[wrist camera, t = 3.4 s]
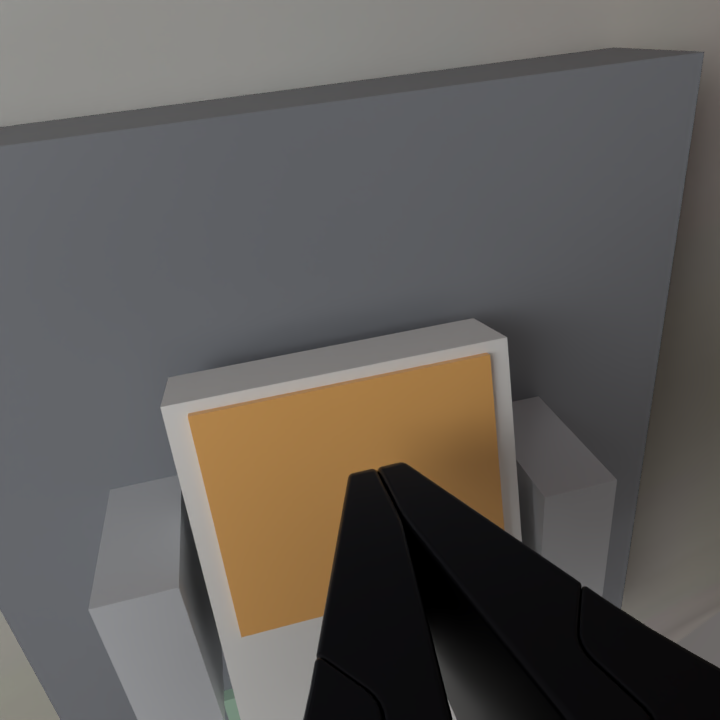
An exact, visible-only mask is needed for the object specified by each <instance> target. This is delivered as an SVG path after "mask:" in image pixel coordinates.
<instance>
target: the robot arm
mask: <svg viewBox="0 0 720 720" xmlns="http://www.w3.org/2000/svg"><path fill="white" fill-rule="evenodd" d="M581 588H582V589H581ZM316 657H317V659H316V660H315V663H314V669H313V674H312V680H311V685H310V690H309V695H308V699H307V704H306V709H305V713H304V718H303V720H453V718H452V714H451V710H450V706H449V703H450V705H451V708H452V710H453V712H454V714H455V717H456V719H457V720H720V668H718V667H717V666H715V665H713V664H711V663H709V662H708V661H706V660H704V659H702V658H700V657H699V656H697V655H695V654H693V653H691V652H690V651H688V650H686V649H685V648H683V647H681V646H680V645H678V644H676V643H675V642H673V641H671V640H669V639H668V638H666V637H664V636H663V635H661V634H659V633H657V632H656V631H654V630H652V629H651V628H649V627H647V626H646V625H644V624H643V623H641V622H640V621H638V620H636V619H635V618H633V617H632V616H630V615H629V614H627V613H626V612H624V611H623V610H621V609H619V608H618V607H616V606H615V605H613V604H612V603H610V602H609V601H607V600H606V599H604V598H603V597H601V596H600V595H598V594H597V593H596V592H594V591H593V590H591V589H590V588H588V587H587V586H583V587H582V585H581V583H580V582H579V581H578V580H576V579H575V578H573V577H572V576H570V575H569V574H567V573H566V572H564V571H563V570H562V569H560V568H559V567H557V566H556V565H554V564H553V563H551V562H550V561H548V560H547V559H545V558H544V557H543V556H541V555H540V554H538V553H537V552H535V551H534V550H532V549H531V548H529V547H528V546H526V545H525V544H524V543H522V542H521V541H519V540H518V539H516V538H515V537H513V536H512V535H510V534H509V533H507V532H506V531H505V530H503V529H502V528H500V527H499V526H497V525H496V524H494V523H493V522H491V521H490V520H488V519H487V518H486V517H484V516H483V515H481V514H480V513H478V512H477V511H475V510H474V509H472V508H471V507H469V506H468V505H467V504H465V503H464V502H462V501H461V500H459V499H458V498H456V497H455V496H453V495H452V494H450V493H449V492H448V491H446V490H445V489H443V488H442V487H440V486H439V485H437V484H436V483H434V482H433V481H431V480H430V479H429V478H427V477H426V476H424V475H423V474H421V473H420V472H418V471H417V470H415V469H414V468H412V467H411V466H410V465H408V464H406V463H404V462H399V463H394V464H390V465H386V466H381V467H379V468H378V470H377V471H376V470H375V469H368V470H364V471H359V472H355V473H351V474H350V475H349V477H348V480H347V486H346V492H345V497H344V503H343V508H342V514H341V520H340V525H339V531H338V536H337V542H336V548H335V553H334V559H333V564H332V570H331V576H330V581H329V587H328V592H327V598H326V604H325V609H324V615H323V620H322V626H321V632H320V637H319V643H318V648H317V654H316ZM448 701H449V702H448Z"/></svg>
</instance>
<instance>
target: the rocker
mask: <svg viewBox="0 0 720 720" xmlns="http://www.w3.org/2000/svg"><path fill="white" fill-rule="evenodd" d="M160 408H161V412H162V416H163V420H164V424H165V428H166V431H167V435H168V439H169V443H170V447H171V451H172V455H173V459H174V463H175V466H176V470H177V474H178V478H179V482H180V486H181V490H182V494H183V498H184V502H185V505H186V509H187V513H188V517H189V521H190V525H191V529H192V533H193V537H194V540H195V544H196V548H197V552H198V556H199V560H200V564H201V568H202V572H203V575H204V579H205V583H206V587H207V591H208V595H209V599H210V603H211V607H212V610H213V614H214V618H215V622H216V626H217V630H218V634H219V638H220V642H221V645H222V649H223V653H224V657H225V661H226V665H227V669H228V673H229V677H230V681H231V684H232V688H233V692H234V696H235V700H236V704H237V708H238V712H239V716H240V719H241V720H303V718H304V713H305V709H306V704H307V699H308V695H309V690H310V685H311V680H312V674H313V669H314V663H315V660H316V659H317V657H316V654H317V648H318V643H319V637H320V632H321V626H322V620H323V615H324V609H325V604H326V598H327V592H328V587H329V581H330V576H331V570H332V564H333V559H334V553H335V548H336V542H337V536H338V531H339V525H340V520H341V514H342V508H343V503H344V497H345V492H346V486H347V480H348V477H349V475H350V474H351V473H355V472H359V471H364V470H368V469H375V470H376V471H377V470H378V468H379V467H381V466H386V465H390V464H394V463H399V462H404V463H406V464H408V465H410V466H411V467H412V468H414V469H415V470H417V471H418V472H420V473H421V474H423V475H424V476H426V477H427V478H429V479H430V480H431V481H433V482H434V483H436V484H437V485H439V486H440V487H442V488H443V489H445V490H446V491H448V492H449V493H450V494H452V495H453V496H455V497H456V498H458V499H459V500H461V501H462V502H464V503H465V504H467V505H468V506H469V507H471V508H472V509H474V510H475V511H477V512H478V513H480V514H481V515H483V516H484V517H486V518H487V519H488V520H490V521H491V522H493V523H494V524H496V525H497V526H499V527H500V528H502V529H503V530H505V531H506V532H507V533H509V534H510V535H512V536H513V537H515V538H516V539H518V540H519V541H521V542H522V535H521V522H520V508H519V494H518V480H517V466H516V452H515V438H514V424H513V410H512V397H511V383H510V369H509V355H508V341H507V337H506V336H504V335H502V334H500V333H499V332H497V331H495V330H493V329H492V328H490V327H488V326H486V325H485V324H483V323H481V322H479V321H478V320H476V319H474V318H471V319H466V320H461V321H456V322H451V323H445V324H440V325H435V326H430V327H425V328H420V329H415V330H410V331H404V332H399V333H394V334H389V335H384V336H379V337H374V338H368V339H363V340H358V341H353V342H348V343H343V344H338V345H333V346H327V347H322V348H317V349H312V350H307V351H302V352H297V353H291V354H286V355H281V356H276V357H271V358H266V359H261V360H255V361H250V362H245V363H240V364H235V365H230V366H225V367H220V368H214V369H209V370H204V371H199V372H194V373H189V374H184V375H178V376H173V377H168V381H167V384H166V388H165V392H164V395H163V399H162V403H161V406H160ZM448 702H449V701H448ZM449 706H450V710H451V714H452V718H453V720H457V719H456V717H455V714H454V712H453V710H452V708H451V705H450V703H449Z"/></svg>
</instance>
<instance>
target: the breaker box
mask: <svg viewBox="0 0 720 720" xmlns="http://www.w3.org/2000/svg"><path fill="white" fill-rule="evenodd" d="M703 57H704V52H696V51H674V50H652V49H630V48H608V49H600V50H592V51H585V52H577V53H569V54H561V55H554V56H546V57H538V58H531V59H523V60H515V61H507V62H500V63H492V64H484V65H477V66H469V67H461V68H453V69H446V70H438V71H430V72H423V73H415V74H407V75H399V76H392V77H384V78H376V79H369V80H361V81H353V82H345V83H338V84H330V85H322V86H315V87H307V88H299V89H291V90H284V91H276V92H268V93H261V94H253V95H245V96H237V97H230V98H222V99H214V100H207V101H199V102H191V103H183V104H176V105H168V106H160V107H153V108H145V109H137V110H129V111H122V112H114V113H106V114H99V115H91V116H83V117H75V118H68V119H60V120H52V121H45V122H37V123H29V124H21V125H14V126H6V127H0V610H1V612H2V613H3V615H4V617H5V619H6V621H7V623H8V624H9V626H10V628H11V630H12V632H13V634H14V635H15V637H16V639H17V641H18V643H19V645H20V646H21V648H22V650H23V652H24V654H25V656H26V657H27V659H28V661H29V663H30V665H31V667H32V668H33V670H34V672H35V674H36V676H37V677H38V679H39V681H40V683H41V685H42V687H43V688H44V690H45V692H46V694H47V696H48V698H49V699H50V701H51V703H52V705H53V707H54V709H55V710H56V712H57V714H58V716H59V718H60V720H241V719H240V716H239V712H238V708H237V704H236V700H235V696H234V692H233V688H232V684H231V681H230V677H229V673H228V669H227V665H226V661H225V657H224V653H223V649H222V645H221V642H220V638H219V634H218V630H217V626H216V622H215V618H214V614H213V610H212V607H211V603H210V599H209V595H208V591H207V587H206V583H205V579H204V575H203V572H202V568H201V564H200V560H199V556H198V552H197V548H196V544H195V540H194V537H193V533H192V529H191V525H190V521H189V517H188V513H187V509H186V505H185V502H184V498H183V494H182V490H181V486H180V482H179V478H178V474H177V470H176V466H175V463H174V459H173V455H172V451H171V447H170V443H169V439H168V435H167V431H166V428H165V424H164V420H163V416H162V412H161V408H160V406H161V403H162V399H163V395H164V392H165V388H166V384H167V381H168V377H173V376H178V375H184V374H189V373H194V372H199V371H204V370H209V369H214V368H220V367H225V366H230V365H235V364H240V363H245V362H250V361H255V360H261V359H266V358H271V357H276V356H281V355H286V354H291V353H297V352H302V351H307V350H312V349H317V348H322V347H327V346H333V345H338V344H343V343H348V342H353V341H358V340H363V339H368V338H374V337H379V336H384V335H389V334H394V333H399V332H404V331H410V330H415V329H420V328H425V327H430V326H435V325H440V324H445V323H451V322H456V321H461V320H466V319H471V318H474V319H476V320H478V321H479V322H481V323H483V324H485V325H486V326H488V327H490V328H492V329H493V330H495V331H497V332H499V333H500V334H502V335H504V336H506V337H507V341H508V355H509V369H510V383H511V397H512V410H513V424H514V438H515V452H516V466H517V480H518V494H519V508H520V522H521V535H522V543H524V544H525V545H526V546H528V547H529V548H531V549H532V550H534V551H535V552H537V553H538V554H540V555H541V556H543V557H544V558H545V559H547V560H548V561H550V562H551V563H553V564H554V565H556V566H557V567H559V568H560V569H562V570H563V571H564V572H566V573H567V574H569V575H570V576H572V577H573V578H575V579H576V580H578V581H579V582H580V583H581V585H582V587H583V586H587V587H588V588H590V589H591V590H593V591H594V592H596V593H597V594H598V595H600V596H601V597H603V598H604V599H606V600H607V601H609V602H610V603H612V604H613V605H615V606H616V607H618V608H619V609H621V606H622V599H623V592H624V585H625V579H626V572H627V565H628V559H629V552H630V545H631V539H632V532H633V525H634V519H635V512H636V505H637V498H638V492H639V485H640V478H641V472H642V465H643V458H644V452H645V445H646V438H647V431H648V425H649V418H650V411H651V405H652V398H653V391H654V385H655V378H656V371H657V365H658V358H659V351H660V344H661V338H662V331H663V324H664V318H665V311H666V304H667V298H668V291H669V284H670V278H671V271H672V264H673V257H674V251H675V244H676V237H677V231H678V224H679V217H680V211H681V204H682V197H683V190H684V184H685V177H686V170H687V164H688V157H689V150H690V144H691V137H692V130H693V124H694V117H695V110H696V103H697V97H698V90H699V83H700V77H701V70H702V63H703ZM581 589H582V588H581Z"/></svg>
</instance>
